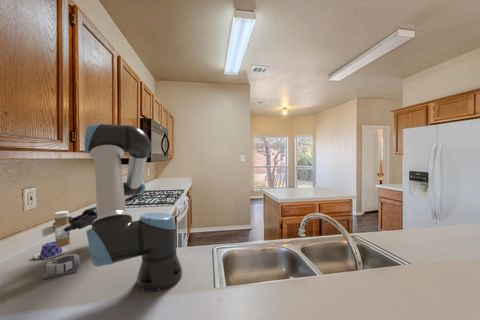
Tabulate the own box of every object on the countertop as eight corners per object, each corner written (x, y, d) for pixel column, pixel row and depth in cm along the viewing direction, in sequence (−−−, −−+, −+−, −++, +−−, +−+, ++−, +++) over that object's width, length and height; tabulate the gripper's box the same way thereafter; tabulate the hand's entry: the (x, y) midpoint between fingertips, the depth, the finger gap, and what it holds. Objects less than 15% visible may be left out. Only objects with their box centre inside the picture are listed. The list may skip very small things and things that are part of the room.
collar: (76, 272, 82) (76, 261, 82) (43, 279, 78) (42, 269, 78) (81, 261, 91) (81, 251, 91) (51, 267, 86) (51, 257, 86)
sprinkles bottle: (61, 243, 86) (59, 210, 86) (73, 242, 87) (71, 210, 87) (52, 248, 82) (50, 213, 82) (64, 247, 82) (63, 213, 82)
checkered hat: (28, 257, 97) (28, 246, 97) (60, 247, 107) (60, 237, 107) (40, 263, 91) (39, 251, 91) (72, 251, 102) (72, 240, 102)
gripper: (112, 222, 102) (72, 242, 79) (77, 223, 102) (27, 243, 79) (111, 207, 102) (71, 222, 78) (76, 207, 102) (26, 223, 79)
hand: (49, 232), depth 79 cm, fingers closed on sprinkles bottle, 4 cm apart
